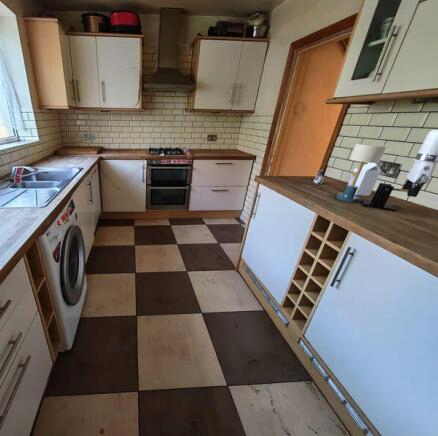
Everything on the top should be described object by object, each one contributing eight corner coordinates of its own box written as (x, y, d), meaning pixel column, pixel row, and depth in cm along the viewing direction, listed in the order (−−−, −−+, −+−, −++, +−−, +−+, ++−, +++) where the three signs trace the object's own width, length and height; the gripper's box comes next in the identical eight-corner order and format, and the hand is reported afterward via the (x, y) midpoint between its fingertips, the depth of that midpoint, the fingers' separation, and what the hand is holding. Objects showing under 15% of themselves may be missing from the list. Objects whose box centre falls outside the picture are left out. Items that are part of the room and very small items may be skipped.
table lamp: (358, 198, 131) (382, 144, 118) (362, 204, 122) (389, 147, 109) (332, 194, 137) (353, 142, 124) (335, 200, 128) (357, 144, 115)
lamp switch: (414, 194, 113) (418, 187, 112) (417, 196, 110) (421, 189, 109) (379, 190, 119) (382, 183, 118) (381, 191, 117) (384, 185, 115)
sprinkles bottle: (351, 188, 149) (359, 168, 143) (356, 190, 144) (366, 169, 139) (344, 188, 149) (352, 167, 143) (349, 190, 144) (358, 169, 139)
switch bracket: (388, 205, 122) (400, 184, 116) (394, 211, 115) (406, 189, 110) (360, 201, 127) (369, 180, 122) (363, 206, 120) (373, 184, 115)
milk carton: (355, 195, 136) (369, 163, 128) (349, 191, 143) (362, 161, 135) (369, 196, 135) (384, 164, 127) (362, 192, 141) (376, 162, 133)
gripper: (448, 162, 97) (426, 200, 105) (430, 156, 110) (411, 190, 118) (423, 160, 100) (403, 197, 108) (409, 154, 114) (392, 188, 121)
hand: (408, 193), depth 113 cm, fingers open, 8 cm apart
